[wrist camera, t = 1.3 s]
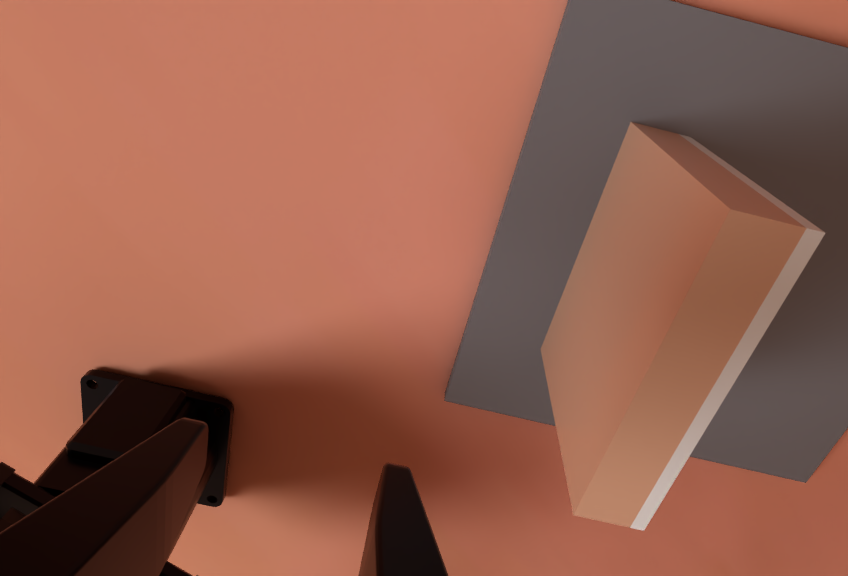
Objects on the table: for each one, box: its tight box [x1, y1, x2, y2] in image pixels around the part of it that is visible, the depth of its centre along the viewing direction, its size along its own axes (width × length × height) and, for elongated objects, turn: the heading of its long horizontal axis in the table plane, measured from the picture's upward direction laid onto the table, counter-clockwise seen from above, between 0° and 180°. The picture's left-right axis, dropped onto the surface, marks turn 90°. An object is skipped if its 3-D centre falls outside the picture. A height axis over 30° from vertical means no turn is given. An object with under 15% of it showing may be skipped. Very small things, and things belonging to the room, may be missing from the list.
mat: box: [444, 0, 848, 483], centre depth 21 cm, size 16×16×1 cm
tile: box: [541, 122, 825, 531], centre depth 17 cm, size 9×2×8 cm, turn 167°
